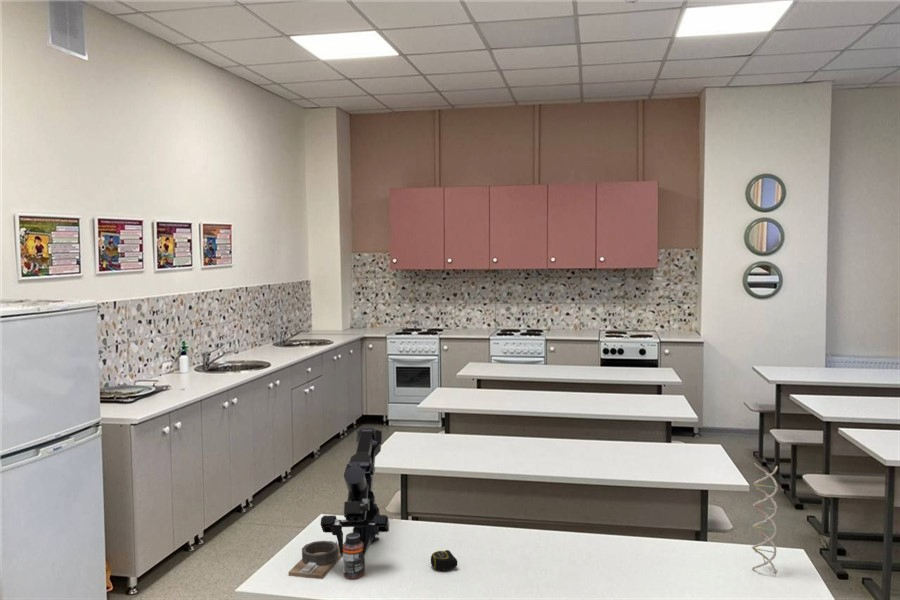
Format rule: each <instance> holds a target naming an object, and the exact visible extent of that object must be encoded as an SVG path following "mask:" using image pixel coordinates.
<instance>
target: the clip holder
mask: <svg viewBox="0 0 900 600" xmlns="http://www.w3.org/2000/svg"><path fill="white" fill-rule="evenodd" d="M342 558H343V552H342V554H340V549H339V544H338V540H319V541H318V540H317V541H312V542H310V543H306V544H305V545H304V546H303V547H302V548H301V559H299V561H298V562H297V563H296V564H295V565H294V566H293V567H292V568H291V569H290V570H289V571H288V576H290V577H300V578H308V579H319V580H323V579H324V578H325V576H326V575H327V574H328V573H329V572H330V571H331V570H332V569H333V568H334V566H336V564H337V563H338V562H339V560H340V559H342Z"/></svg>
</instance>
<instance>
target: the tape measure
mask: <svg viewBox="0 0 900 600" xmlns="http://www.w3.org/2000/svg"><path fill="white" fill-rule="evenodd" d="M430 564H431V567H432V568H434V569H435V570H439V571H447V570H450V569H455V568H457V567H458V560H457V558H456V557H455V556H454V555H453V553H452V552H451V551H450V550H449V549H446V550H437V551H435V552H433V553H432V554H431V556H430Z"/></svg>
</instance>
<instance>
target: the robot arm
mask: <svg viewBox="0 0 900 600" xmlns="http://www.w3.org/2000/svg"><path fill="white" fill-rule="evenodd" d="M355 443H356V444H357V445H356V451H355V454H353V455H352V456H351V457H350V458H349V463H347V464H346V467H345V470H344V473H343V478H344V481H345V485H346V488H347V490H348V491H347V501H344V505H343V517H344V519H337V516H336V515H331V514H330V515H322V516H321V518H320V527H321V530H322V532H323V533H326V534H327V533H329V534H330V533H331V534H332V535H333V536H336V541H337V543H338V544H339V549H340V554H342V552H343V544H344V533H343V530H342V529H343V528H353V529H352V533H359V534H360V540H361V541H362V542H363V543H364V550H363V553H364V555H365V554H366V553H367V551H368V549H369V547H370V545H371V544H373V543H375V542H377V541H379V540H380V537H377V536H379V535H380V533H388V532H390V521H389V516H388V515H387V514H381V512H380V508H379V506H378V504H377V502H376V496H375V493H374V491H373V485H374V484H373V483H374V474H375V472H376V467H375V464H376V463H375V462H376V457H377V456H378V455H379V453H380V452H381V450H382V445H384V433H383V431H382V430H378V429H376V428H374V427H361V428H359V430H357V431H356V442H355Z"/></svg>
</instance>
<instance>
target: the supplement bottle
mask: <svg viewBox="0 0 900 600" xmlns="http://www.w3.org/2000/svg"><path fill="white" fill-rule="evenodd" d="M363 550H364V543H363V542H362V541H361V540H360V534H359V533H353V532H349V533H346V534H345V541H343V556H342V569H343V571H342V572H343V573H342V574H343V577H345V578H346V579H350V580H355V579H360V578H362V577H363V576H364V575H365V572H366V569H365V567H366V566H365V565H366V564H365V563H366V561H365V554H364V553H363Z"/></svg>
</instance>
